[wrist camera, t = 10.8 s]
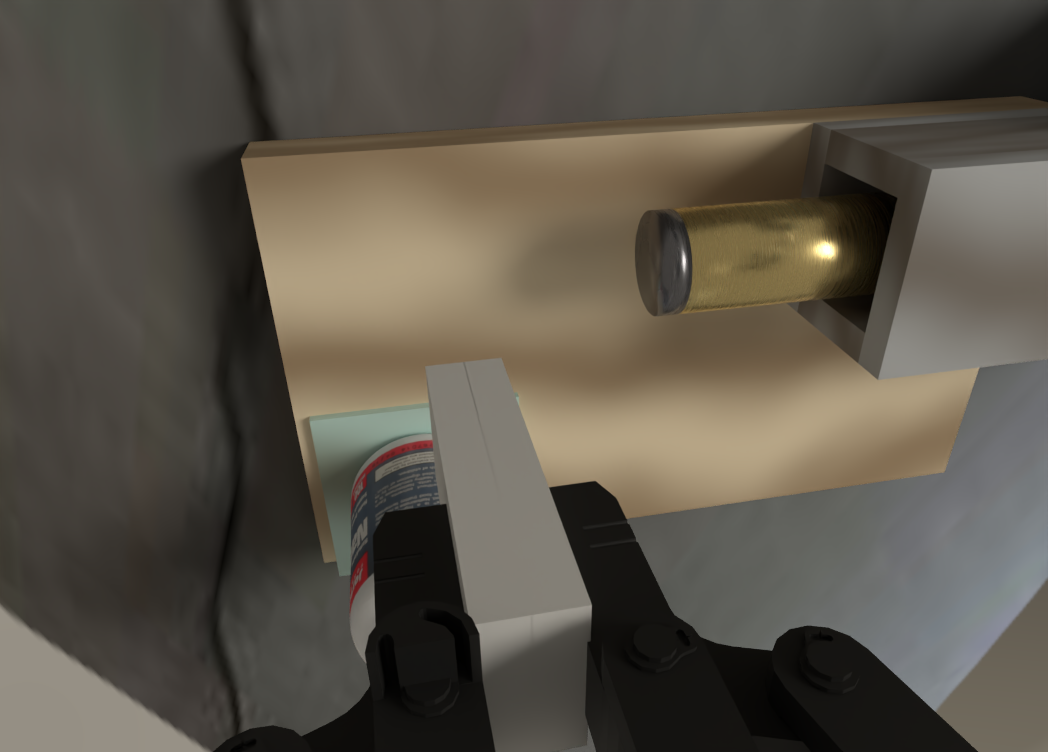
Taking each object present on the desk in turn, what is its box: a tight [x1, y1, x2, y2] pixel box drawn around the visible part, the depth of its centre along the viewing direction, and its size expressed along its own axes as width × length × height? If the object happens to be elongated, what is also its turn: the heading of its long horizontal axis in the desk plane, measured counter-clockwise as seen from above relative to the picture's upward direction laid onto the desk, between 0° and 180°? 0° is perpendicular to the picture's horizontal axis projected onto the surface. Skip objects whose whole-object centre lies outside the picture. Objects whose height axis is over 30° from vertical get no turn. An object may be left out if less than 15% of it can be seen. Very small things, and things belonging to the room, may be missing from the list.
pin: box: [635, 192, 897, 316], centre depth 22 cm, size 3×8×3 cm, turn 91°
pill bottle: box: [350, 433, 440, 663], centre depth 23 cm, size 5×5×9 cm
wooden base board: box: [241, 96, 1048, 576], centre depth 25 cm, size 16×26×8 cm, turn 91°
